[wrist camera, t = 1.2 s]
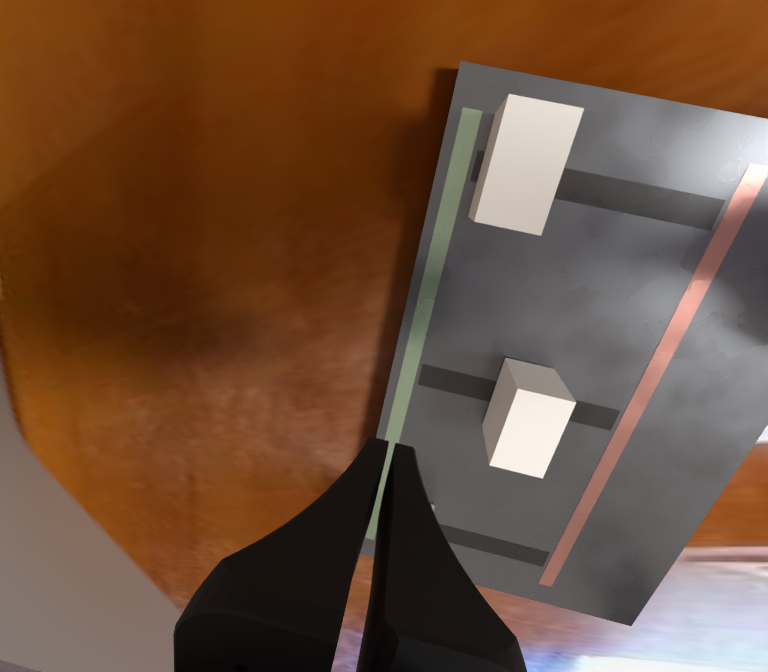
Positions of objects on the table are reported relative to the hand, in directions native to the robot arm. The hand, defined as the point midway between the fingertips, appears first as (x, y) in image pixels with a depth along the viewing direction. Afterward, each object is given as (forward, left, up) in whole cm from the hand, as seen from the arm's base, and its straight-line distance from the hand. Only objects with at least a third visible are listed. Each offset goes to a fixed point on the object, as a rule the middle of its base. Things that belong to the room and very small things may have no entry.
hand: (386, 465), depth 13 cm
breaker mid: (-6, 0, -7) cm, 9 cm away
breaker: (-2, -10, -7) cm, 13 cm away
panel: (-8, 0, -8) cm, 12 cm away
